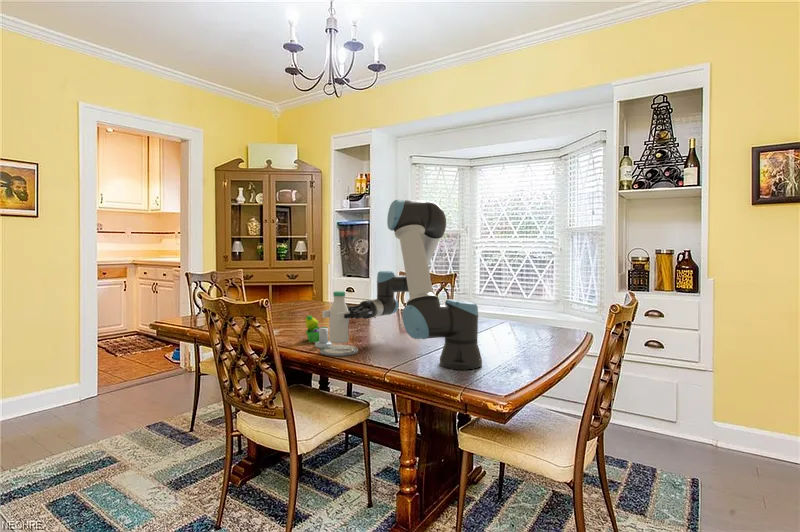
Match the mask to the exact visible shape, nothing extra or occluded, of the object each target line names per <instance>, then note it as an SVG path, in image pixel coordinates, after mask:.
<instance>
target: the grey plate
mask: <svg viewBox="0 0 800 532" xmlns="http://www.w3.org/2000/svg"><path fill="white" fill-rule="evenodd" d="M319 352H320V354H321V355H322V356H325V357H331V358H332V357H333V358H334V357H335V358H337V357H338V358H339V357H340V358H342V357H350V355H351V356H354V354H355V355H356V353H357V354H358V353H359V348H358V347H357V346H354V345H348V344H332V345H331V346H327V347H323V348H319Z"/></svg>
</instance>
